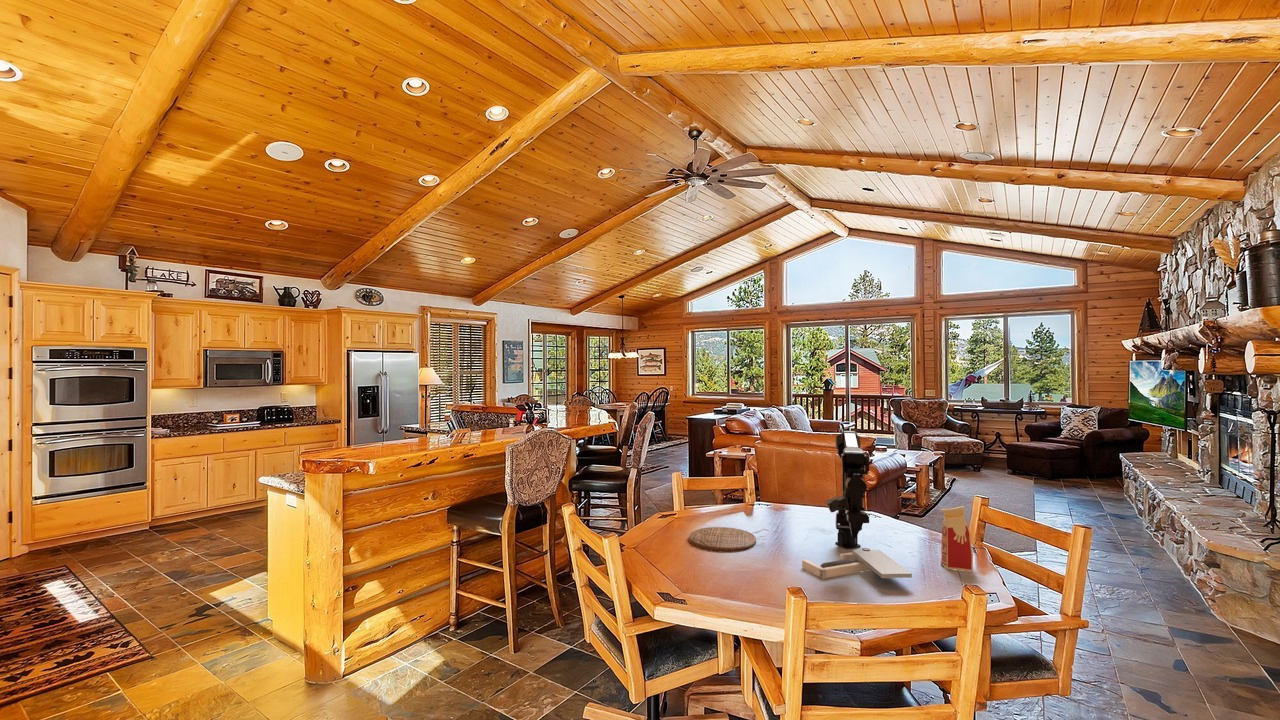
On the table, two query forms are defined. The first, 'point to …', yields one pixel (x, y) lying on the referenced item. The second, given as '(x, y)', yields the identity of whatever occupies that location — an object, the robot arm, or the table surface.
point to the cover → (881, 564)
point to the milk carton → (956, 541)
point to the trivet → (722, 539)
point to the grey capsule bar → (835, 563)
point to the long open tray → (836, 567)
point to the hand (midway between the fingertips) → (854, 537)
